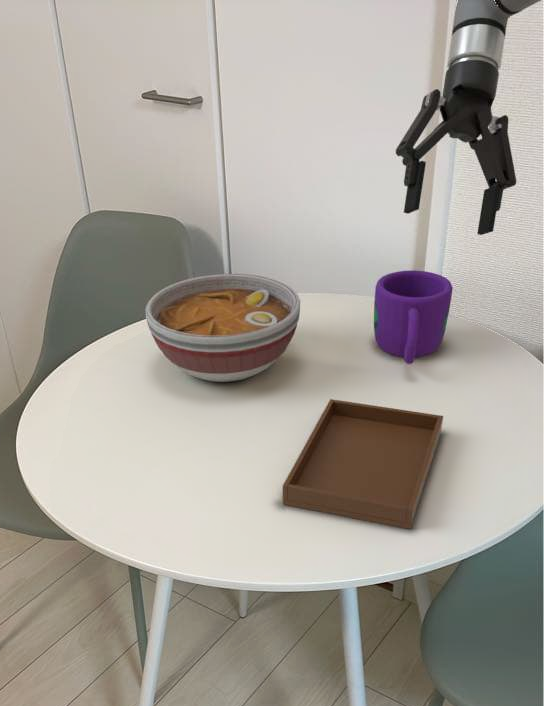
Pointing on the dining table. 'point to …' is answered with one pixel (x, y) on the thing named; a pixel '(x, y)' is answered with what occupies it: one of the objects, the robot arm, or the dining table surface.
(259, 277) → the bowl
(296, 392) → the dining table surface
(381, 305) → the mug
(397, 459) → the tray
